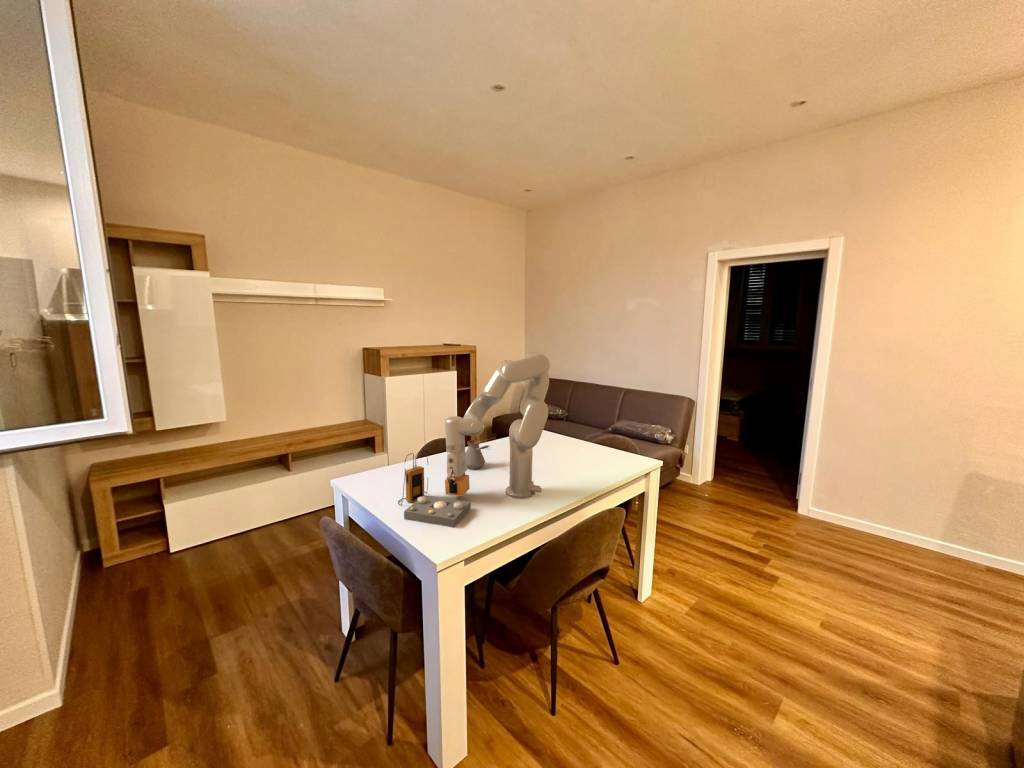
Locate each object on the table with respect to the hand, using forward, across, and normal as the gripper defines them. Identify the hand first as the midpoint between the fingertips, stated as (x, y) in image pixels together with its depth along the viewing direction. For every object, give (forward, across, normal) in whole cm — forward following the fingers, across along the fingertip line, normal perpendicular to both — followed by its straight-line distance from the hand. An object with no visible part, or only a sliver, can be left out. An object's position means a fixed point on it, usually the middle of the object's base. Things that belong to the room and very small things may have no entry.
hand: (457, 488), depth 166 cm
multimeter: (+3, -6, +19) cm, 20 cm away
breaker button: (+3, -14, +1) cm, 14 cm away
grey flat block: (+4, -16, +1) cm, 16 cm away
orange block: (+1, 0, 0) cm, 1 cm away
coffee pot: (+5, +33, +4) cm, 34 cm away
